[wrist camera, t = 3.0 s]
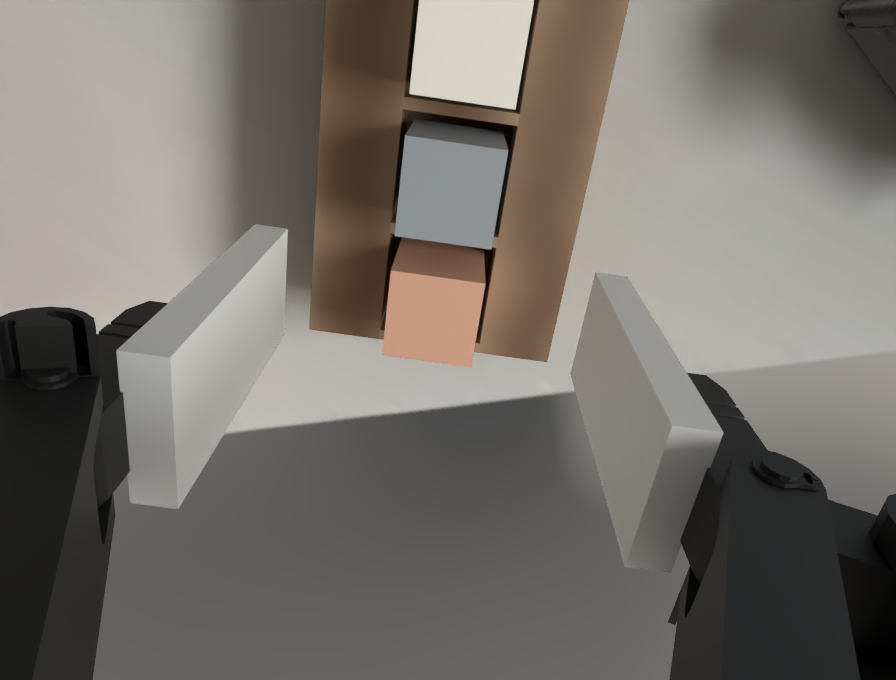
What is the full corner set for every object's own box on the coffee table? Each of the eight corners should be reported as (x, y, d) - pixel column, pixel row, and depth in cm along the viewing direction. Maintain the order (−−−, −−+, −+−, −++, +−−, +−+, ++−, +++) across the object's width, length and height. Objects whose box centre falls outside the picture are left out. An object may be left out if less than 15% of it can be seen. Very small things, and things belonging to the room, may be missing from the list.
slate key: (405, 205, 31) (394, 236, 27) (415, 118, 30) (405, 135, 25) (488, 217, 32) (491, 249, 27) (503, 131, 30) (508, 150, 25)
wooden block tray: (328, 292, 37) (309, 329, 33) (350, -53, 30) (329, -66, 26) (538, 321, 38) (547, 362, 33) (609, -13, 30) (633, -20, 26)
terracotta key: (394, 311, 34) (381, 355, 29) (402, 236, 32) (391, 270, 28) (471, 321, 34) (471, 367, 29) (483, 247, 32) (485, 283, 28)
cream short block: (418, 83, 29) (409, 93, 25) (430, -19, 27) (421, -28, 23) (508, 96, 29) (515, 109, 25) (525, -5, 27) (535, -10, 23)
